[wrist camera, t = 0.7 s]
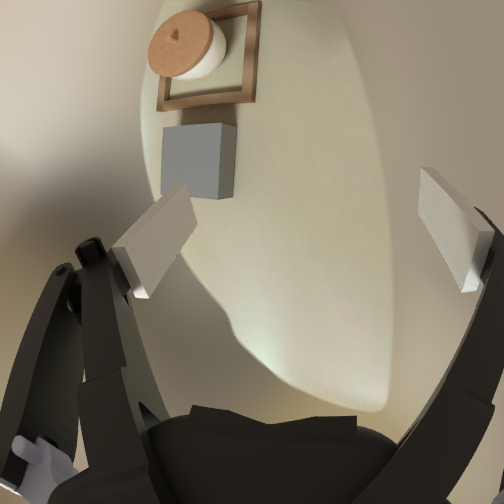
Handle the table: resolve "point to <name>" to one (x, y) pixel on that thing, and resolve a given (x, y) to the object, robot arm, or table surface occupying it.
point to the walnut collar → (248, 69)
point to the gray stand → (199, 159)
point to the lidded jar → (187, 47)
